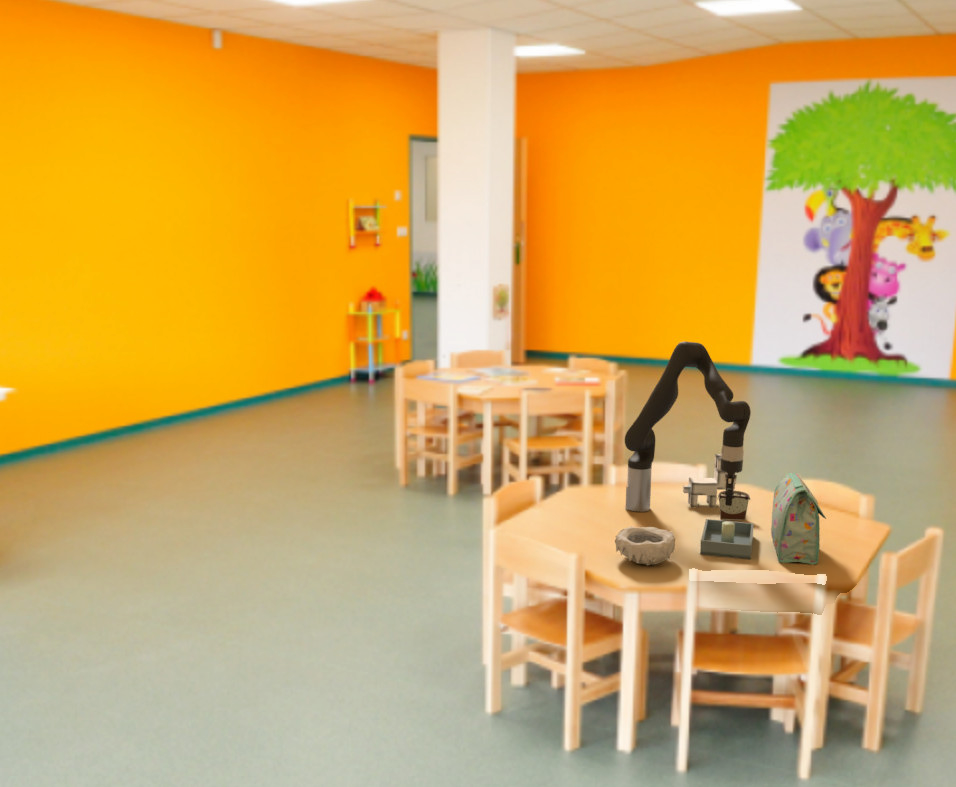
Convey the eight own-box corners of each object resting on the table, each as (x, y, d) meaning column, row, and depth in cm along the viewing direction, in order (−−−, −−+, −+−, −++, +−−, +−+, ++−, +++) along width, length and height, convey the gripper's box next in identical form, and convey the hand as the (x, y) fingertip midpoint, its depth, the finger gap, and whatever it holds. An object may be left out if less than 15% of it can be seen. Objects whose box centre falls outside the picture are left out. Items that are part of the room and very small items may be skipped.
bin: (700, 554, 348) (700, 540, 347) (705, 531, 371) (705, 518, 369) (750, 559, 343) (751, 545, 342) (752, 536, 366) (753, 523, 365)
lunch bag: (824, 566, 337) (830, 490, 331) (773, 563, 340) (778, 487, 334) (814, 543, 359) (819, 470, 354) (766, 540, 362) (771, 468, 356)
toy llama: (681, 501, 406) (683, 453, 402) (725, 501, 405) (727, 454, 401) (684, 507, 399) (686, 458, 395) (728, 507, 398) (731, 459, 394)
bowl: (682, 571, 332) (684, 543, 330) (622, 573, 331) (623, 544, 329) (666, 549, 353) (667, 522, 351) (609, 551, 351) (610, 523, 349)
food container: (746, 515, 389) (747, 490, 387) (749, 520, 383) (750, 495, 381) (714, 514, 390) (715, 489, 388) (716, 519, 384) (717, 494, 382)
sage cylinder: (720, 543, 355) (721, 525, 354) (721, 539, 359) (722, 521, 358) (733, 545, 354) (734, 526, 353) (734, 540, 358) (735, 522, 357)
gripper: (722, 451, 358) (719, 494, 361) (719, 461, 344) (717, 506, 348) (743, 453, 356) (741, 496, 359) (742, 463, 342) (739, 508, 346)
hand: (729, 501), depth 353 cm, fingers open, 8 cm apart
